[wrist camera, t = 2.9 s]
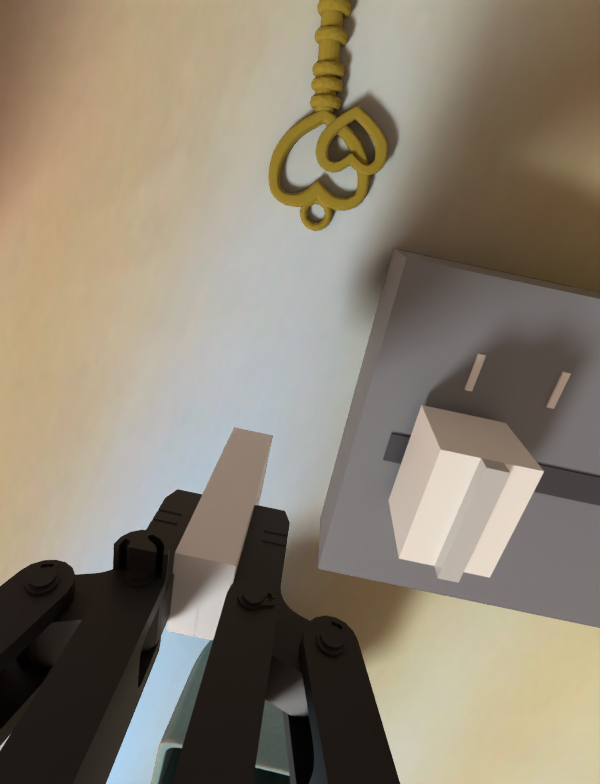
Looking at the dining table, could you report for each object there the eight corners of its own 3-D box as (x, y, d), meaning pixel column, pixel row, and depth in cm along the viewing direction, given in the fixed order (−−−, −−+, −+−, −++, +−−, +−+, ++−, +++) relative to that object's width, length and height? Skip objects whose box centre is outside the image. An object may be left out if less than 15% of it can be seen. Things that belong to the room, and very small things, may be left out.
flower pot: (208, 593, 29) (158, 742, 21) (331, 625, 30) (329, 784, 22) (189, 672, 33) (140, 826, 25) (299, 700, 33) (286, 861, 25)
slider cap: (421, 404, 18) (444, 459, 14) (505, 422, 18) (552, 481, 14) (388, 500, 20) (400, 570, 16) (464, 516, 20) (495, 590, 16)
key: (279, -153, 14) (430, -146, 14) (284, -127, 15) (423, -119, 15) (264, 227, 19) (375, 237, 19) (268, 225, 20) (373, 234, 20)
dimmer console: (393, 248, 20) (406, 258, 16) (856, 347, 20) (979, 380, 16) (320, 518, 26) (317, 570, 22) (670, 592, 26) (727, 655, 22)
